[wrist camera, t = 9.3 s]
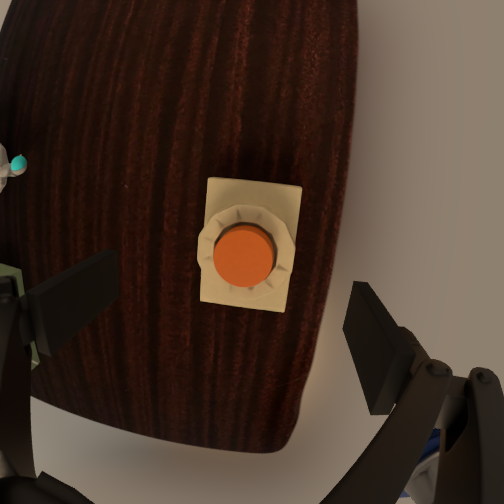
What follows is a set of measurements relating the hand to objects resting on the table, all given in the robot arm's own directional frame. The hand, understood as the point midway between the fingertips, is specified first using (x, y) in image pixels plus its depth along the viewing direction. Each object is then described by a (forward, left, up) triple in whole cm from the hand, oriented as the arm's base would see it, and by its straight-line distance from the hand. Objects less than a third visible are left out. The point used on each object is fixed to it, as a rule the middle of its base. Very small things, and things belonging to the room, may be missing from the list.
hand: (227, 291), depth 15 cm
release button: (0, 0, -7) cm, 7 cm away
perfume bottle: (+18, +23, -11) cm, 31 cm away
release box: (0, 0, -11) cm, 11 cm away
